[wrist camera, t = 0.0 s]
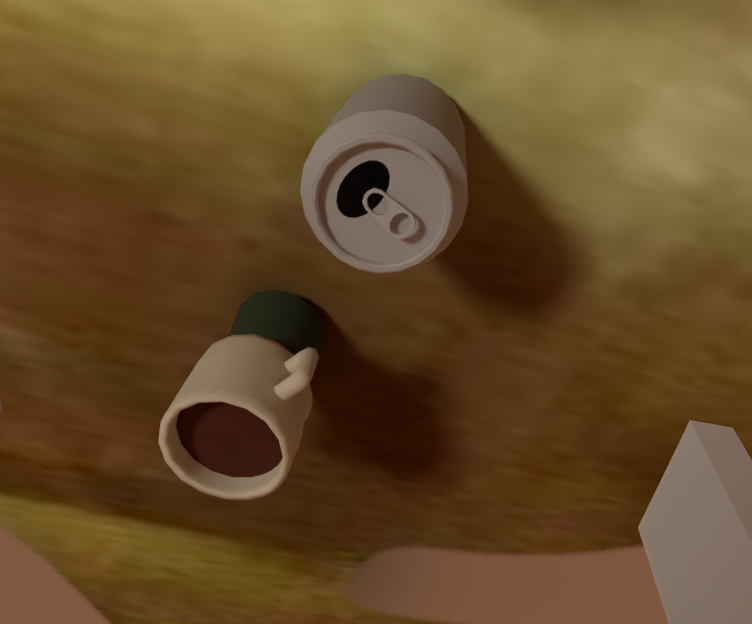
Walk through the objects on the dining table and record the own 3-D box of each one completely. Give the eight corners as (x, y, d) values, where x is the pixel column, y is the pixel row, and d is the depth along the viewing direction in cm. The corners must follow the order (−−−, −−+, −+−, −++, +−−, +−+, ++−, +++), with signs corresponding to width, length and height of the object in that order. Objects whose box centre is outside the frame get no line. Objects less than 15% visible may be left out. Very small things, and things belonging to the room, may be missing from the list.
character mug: (264, 397, 48) (204, 534, 37) (193, 331, 46) (107, 454, 34) (376, 320, 44) (347, 447, 32) (304, 242, 42) (247, 350, 30)
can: (389, 41, 35) (362, 77, 25) (493, 129, 37) (507, 198, 26) (312, 148, 38) (258, 219, 28) (410, 224, 40) (393, 319, 30)
